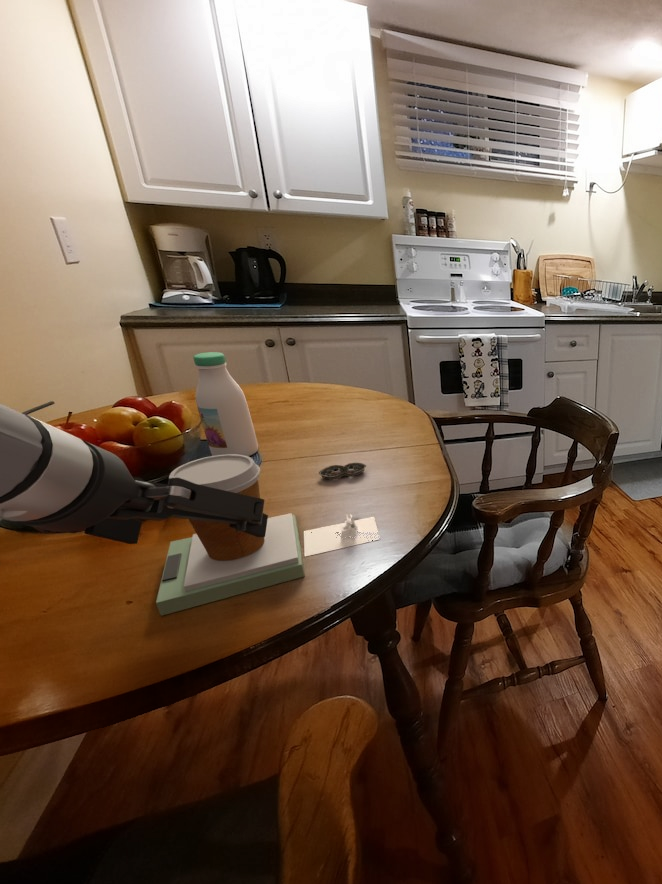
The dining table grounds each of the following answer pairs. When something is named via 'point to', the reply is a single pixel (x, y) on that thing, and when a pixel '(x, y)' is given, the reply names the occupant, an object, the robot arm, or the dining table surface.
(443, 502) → the dining table surface
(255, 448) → the milk bottle
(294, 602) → the dining table surface
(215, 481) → the disposable coffee cup
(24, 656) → the dining table surface
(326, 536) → the rabbit figurine
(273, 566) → the kitchen scale
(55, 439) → the robot arm
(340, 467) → the corroded twin loop
